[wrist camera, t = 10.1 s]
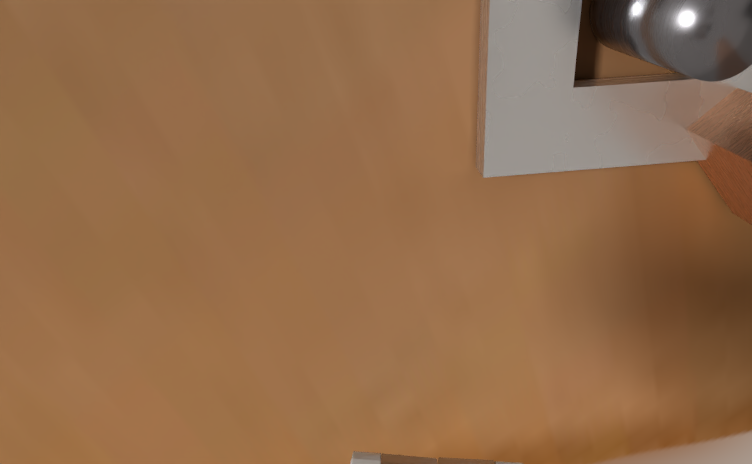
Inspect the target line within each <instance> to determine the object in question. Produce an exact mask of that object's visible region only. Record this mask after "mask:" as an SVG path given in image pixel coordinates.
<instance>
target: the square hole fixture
mask: <svg viewBox="0 0 752 464" xmlns="http://www.w3.org/2000/svg"><path fill="white" fill-rule="evenodd" d="M581 6H582V0H481V16H480V48H479V81H478V114H477V146H476V168H477V170H478V171H479V173H480V174H481V175H482V177H483V178H485V177H497V176H510V175H522V174H535V173H547V172H560V171H572V170H585V169H597V168H610V167H622V166H635V165H647V164H660V163H672V162H685V161H697V162H698V163H699V165H700V166H701V168H702V169H703V170H704V172H705V173H706V175H707V176H708V178H709V179H710V181H711V182H712V184H713V185H714V186H715V188H716V189H717V191H718V192H719V194H720V195H721V197H722V198H723V200H724V201H725V202H726V204H727V205H728V207H729V208H730V210H731V211H732V213H734V214H735V215H737V216H739V217H740V218H742V219H743V220H745V221H746V222H748V223H749V224H751V225H752V65H750V66H749V67H748V68H747V69H745V70H744V71H743V72H741V73H739V74H738V75H736V76H733V77H731V78H729V79H725V80H722V81H715V82H708V81H702V80H698V79H695V78H692V77H689V76H687V75H684V74H681V73H673V74H658V75H644V76H629V77H615V78H600V79H586V80H574V75H575V65H576V55H577V45H578V35H579V25H580V16H581Z"/></svg>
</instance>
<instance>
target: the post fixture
mask: <svg viewBox="0 0 752 464" xmlns="http://www.w3.org/2000/svg"><path fill="white" fill-rule="evenodd" d="M589 18H590V25H591V29H592V31H593V33H594V35H595V37H596V38H597V39H598V41H599V42H601V43H602V44H603V45H605V46H606V47H608V48H611V49H613V50H616V51H619V52H622V53H625V54H628V55H630V56H633V57H636V58H639V59H642V60H644V61H647V62H650V63H653V64H656V65H658V66H661V67H664V68H667V69H670V70H673V71H675V72H678V73H681V74H684V75H687V76H689V77H692V78H695V79H698V80H702V81H708V82H715V81H722V80H725V79H729V78H731V77H733V76H736V75H738V74H739V73H741V72H743V71H744V70H745V69H747V68H748V67H749V66H750V65H752V0H592V1H591V5H590V12H589Z"/></svg>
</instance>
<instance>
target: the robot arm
mask: <svg viewBox="0 0 752 464" xmlns="http://www.w3.org/2000/svg"><path fill="white" fill-rule="evenodd" d="M351 464H523V463H517V462H495V461H493V460H478V459H459V458H438V462H437V459H436V458H428V457H416V456H404V455H392V454H382V458H381V453H370V452H355V451H353V455H352V459H351Z"/></svg>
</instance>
